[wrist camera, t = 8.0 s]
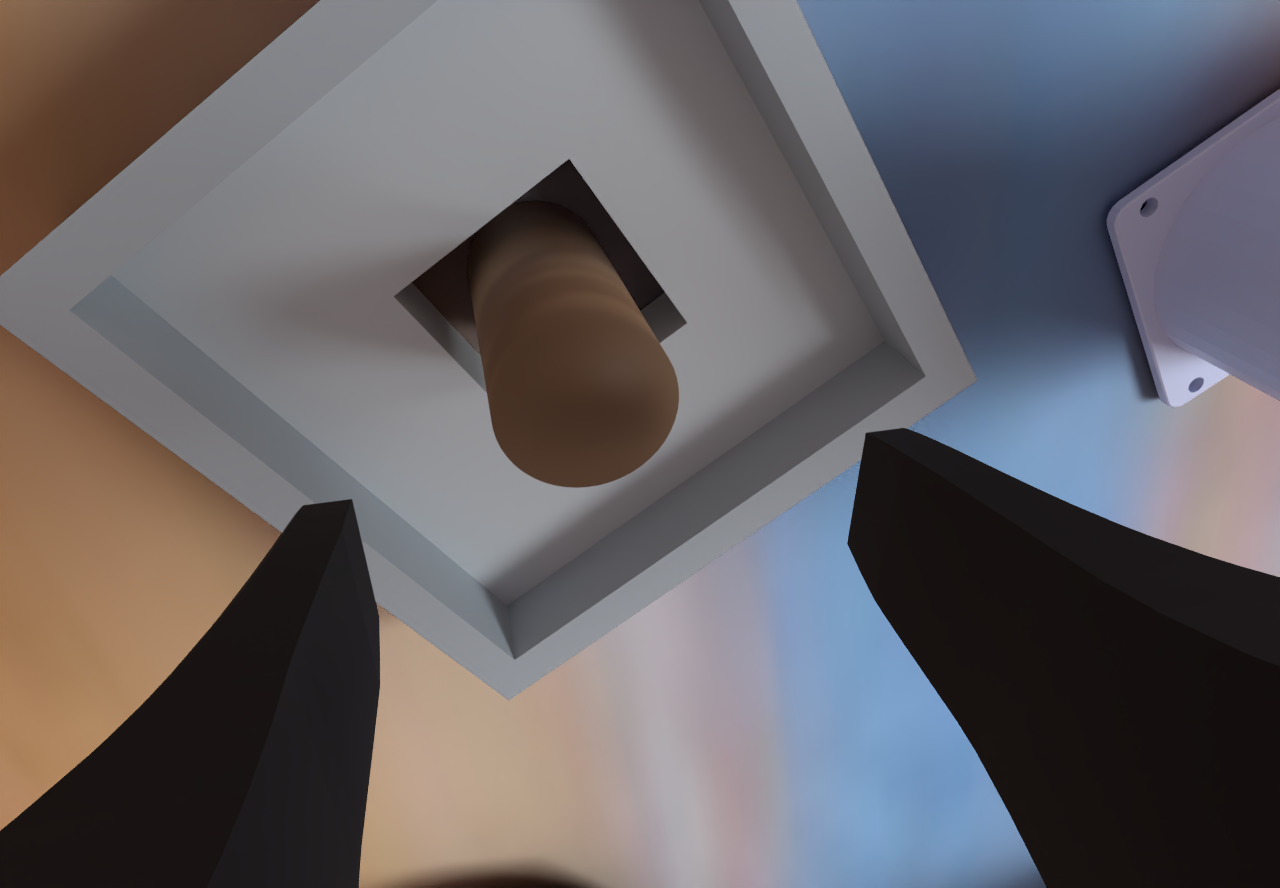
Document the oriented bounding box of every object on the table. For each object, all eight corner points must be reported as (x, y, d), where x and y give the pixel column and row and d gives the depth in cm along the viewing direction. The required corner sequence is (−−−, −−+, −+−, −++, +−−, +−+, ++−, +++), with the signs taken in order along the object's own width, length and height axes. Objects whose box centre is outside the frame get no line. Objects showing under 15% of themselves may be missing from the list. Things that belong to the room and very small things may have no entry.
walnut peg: (556, 173, 19) (622, 281, 13) (625, 286, 20) (709, 425, 15) (438, 249, 19) (450, 388, 13) (516, 354, 21) (556, 517, 15)
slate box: (603, -241, 15) (657, -291, 12) (894, 315, 23) (977, 380, 19) (56, 230, 17) (-31, 301, 14) (495, 597, 24) (508, 700, 21)
